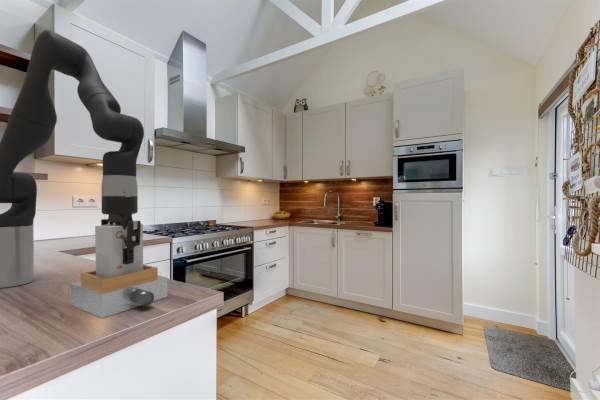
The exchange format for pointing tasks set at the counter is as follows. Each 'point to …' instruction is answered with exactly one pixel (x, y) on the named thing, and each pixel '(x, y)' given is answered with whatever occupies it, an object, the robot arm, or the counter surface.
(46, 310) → the counter surface
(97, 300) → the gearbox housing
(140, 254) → the small box
